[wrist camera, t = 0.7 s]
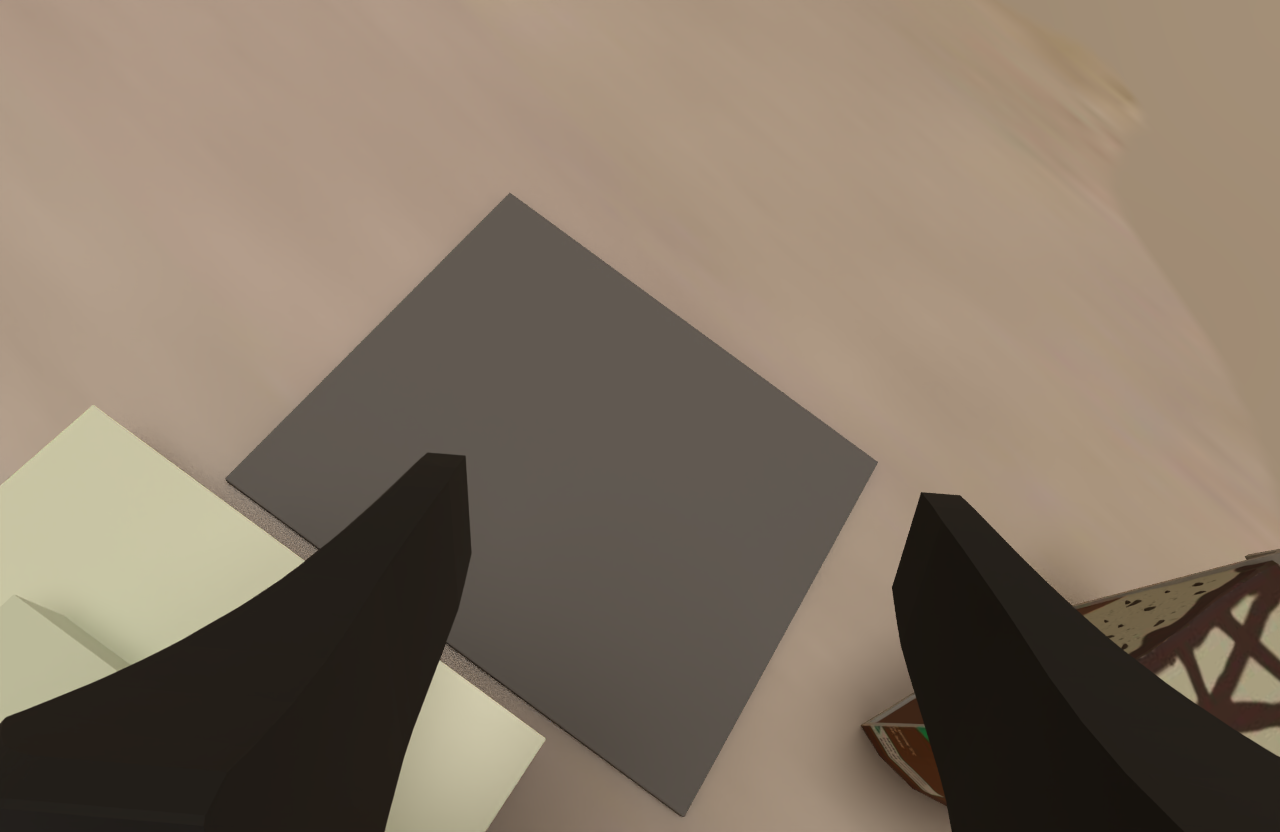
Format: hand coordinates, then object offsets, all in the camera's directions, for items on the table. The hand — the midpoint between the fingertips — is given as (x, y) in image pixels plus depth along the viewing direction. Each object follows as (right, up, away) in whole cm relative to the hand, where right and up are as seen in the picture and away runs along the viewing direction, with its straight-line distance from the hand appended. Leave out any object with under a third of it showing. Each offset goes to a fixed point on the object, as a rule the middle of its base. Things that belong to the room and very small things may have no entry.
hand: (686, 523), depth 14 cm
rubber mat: (-3, 0, +17) cm, 17 cm away
